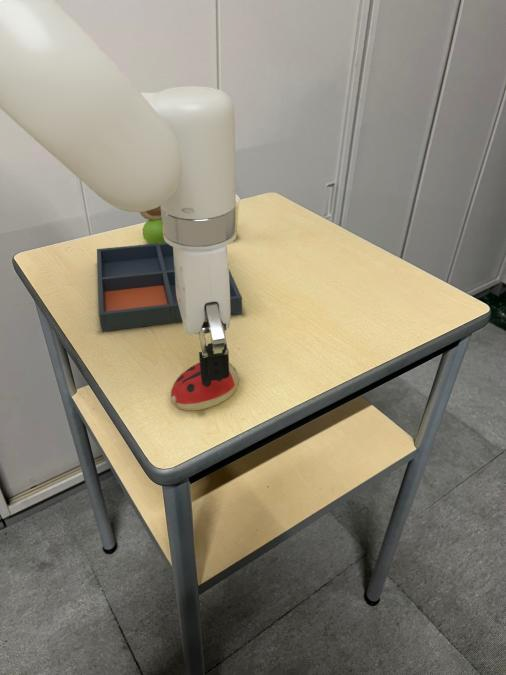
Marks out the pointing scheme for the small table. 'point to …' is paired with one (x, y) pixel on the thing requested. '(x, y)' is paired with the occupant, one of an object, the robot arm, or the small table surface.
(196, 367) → the ladybug figurine
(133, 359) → the small table surface
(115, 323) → the four-compartment sorting tray
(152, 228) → the snail figurine
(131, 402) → the small table surface
